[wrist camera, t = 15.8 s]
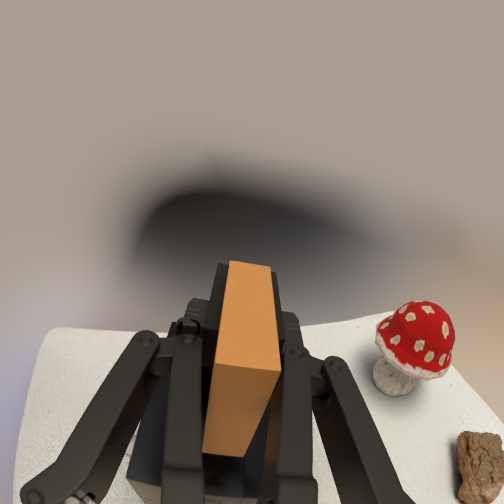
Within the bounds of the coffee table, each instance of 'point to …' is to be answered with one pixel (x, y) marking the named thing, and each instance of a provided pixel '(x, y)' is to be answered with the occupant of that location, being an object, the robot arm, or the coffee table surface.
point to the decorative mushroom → (413, 347)
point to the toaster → (214, 466)
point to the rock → (480, 467)
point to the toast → (242, 361)
